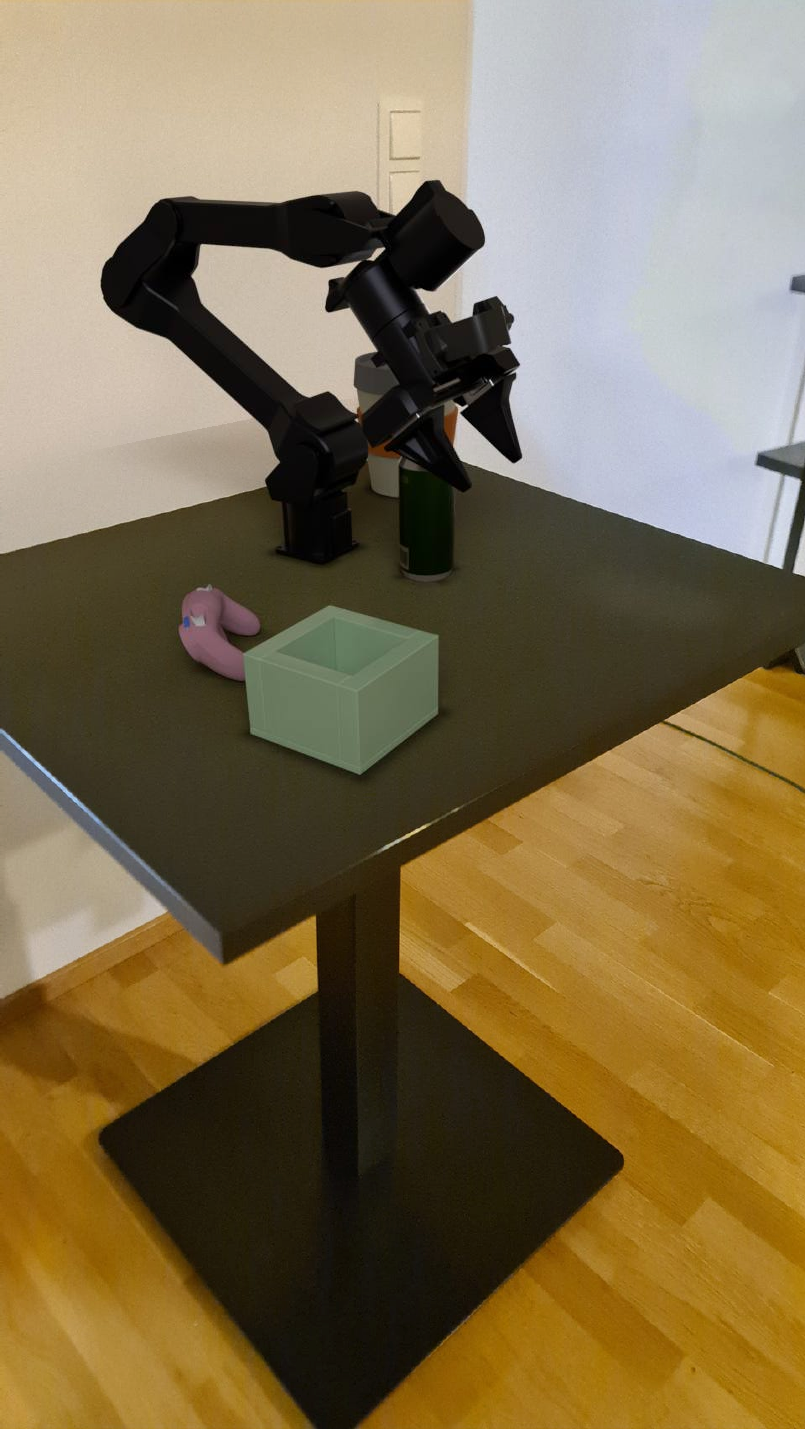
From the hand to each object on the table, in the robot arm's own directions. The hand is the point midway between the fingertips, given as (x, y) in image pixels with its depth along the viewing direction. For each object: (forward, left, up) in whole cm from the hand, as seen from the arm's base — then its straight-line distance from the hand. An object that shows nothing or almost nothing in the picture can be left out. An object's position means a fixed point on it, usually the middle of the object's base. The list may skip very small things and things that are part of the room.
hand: (494, 475), depth 92 cm
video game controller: (-11, -25, -11) cm, 30 cm away
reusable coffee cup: (-24, +22, -11) cm, 35 cm away
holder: (+4, -28, -11) cm, 30 cm away
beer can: (-7, 0, -11) cm, 13 cm away
